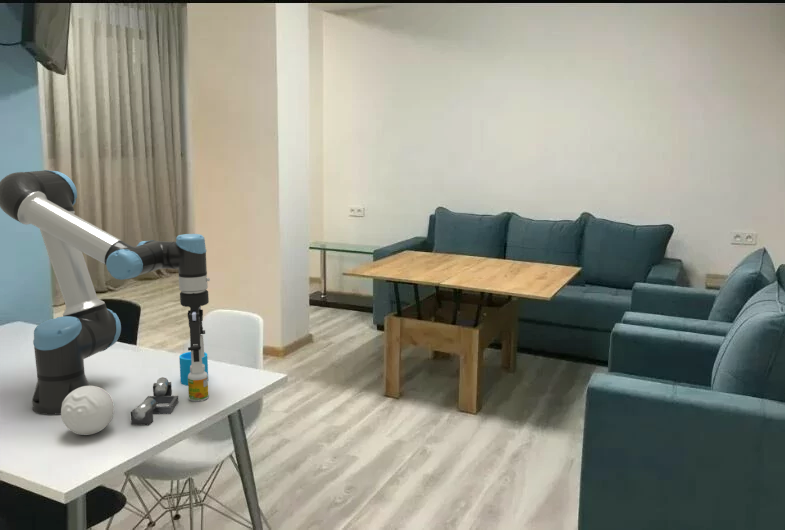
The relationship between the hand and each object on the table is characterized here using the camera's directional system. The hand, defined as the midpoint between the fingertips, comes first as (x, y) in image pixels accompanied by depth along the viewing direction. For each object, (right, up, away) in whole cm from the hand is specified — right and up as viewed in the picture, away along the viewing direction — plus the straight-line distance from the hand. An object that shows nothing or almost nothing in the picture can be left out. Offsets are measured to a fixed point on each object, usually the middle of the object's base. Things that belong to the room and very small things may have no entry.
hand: (198, 364), depth 189 cm
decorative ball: (-21, -14, -21) cm, 33 cm away
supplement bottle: (-1, -10, +2) cm, 10 cm away
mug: (-6, -7, +17) cm, 20 cm away
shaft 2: (-11, -10, +2) cm, 15 cm away
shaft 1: (-10, -13, -13) cm, 21 cm away
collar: (-9, -11, -5) cm, 15 cm away
